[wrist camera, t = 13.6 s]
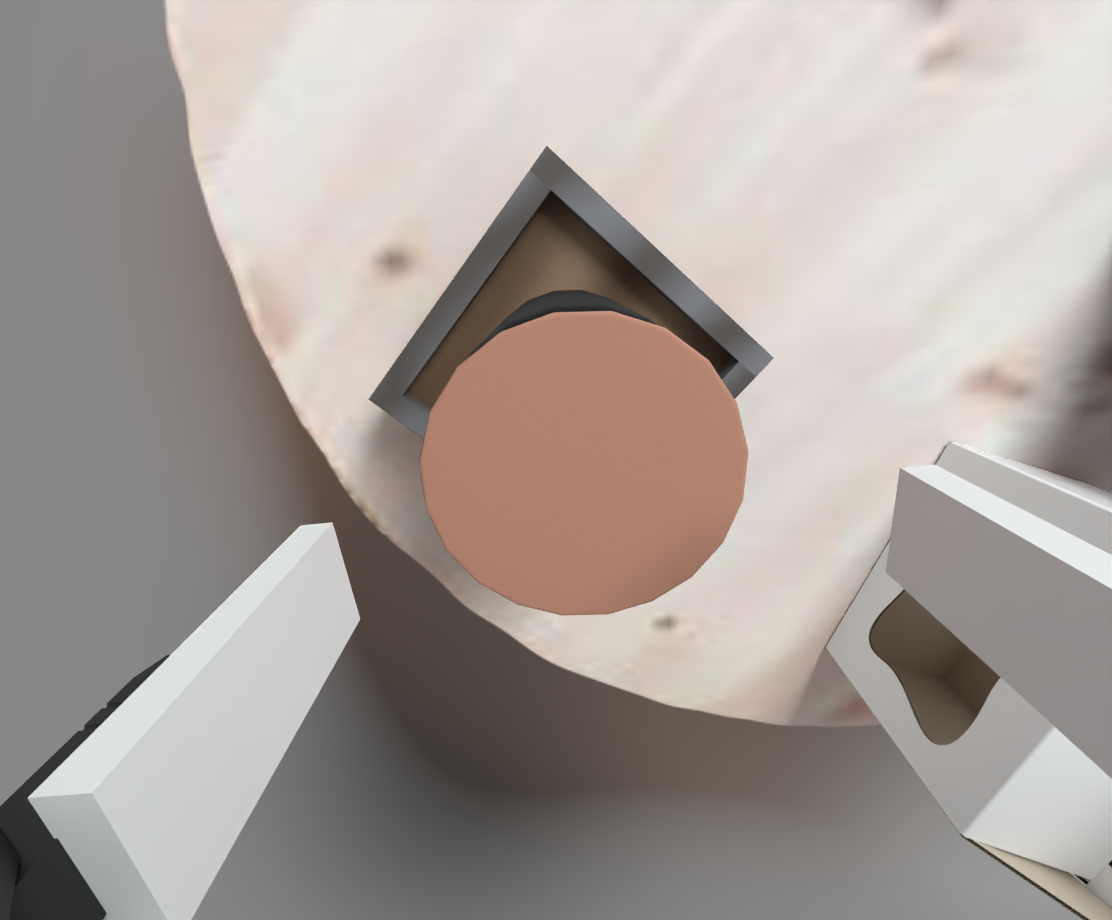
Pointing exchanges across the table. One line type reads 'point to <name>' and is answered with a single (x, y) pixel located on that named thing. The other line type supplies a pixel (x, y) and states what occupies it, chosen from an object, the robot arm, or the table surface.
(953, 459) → the gable box
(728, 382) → the square wooden box
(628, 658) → the table surface
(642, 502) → the coffee jar
